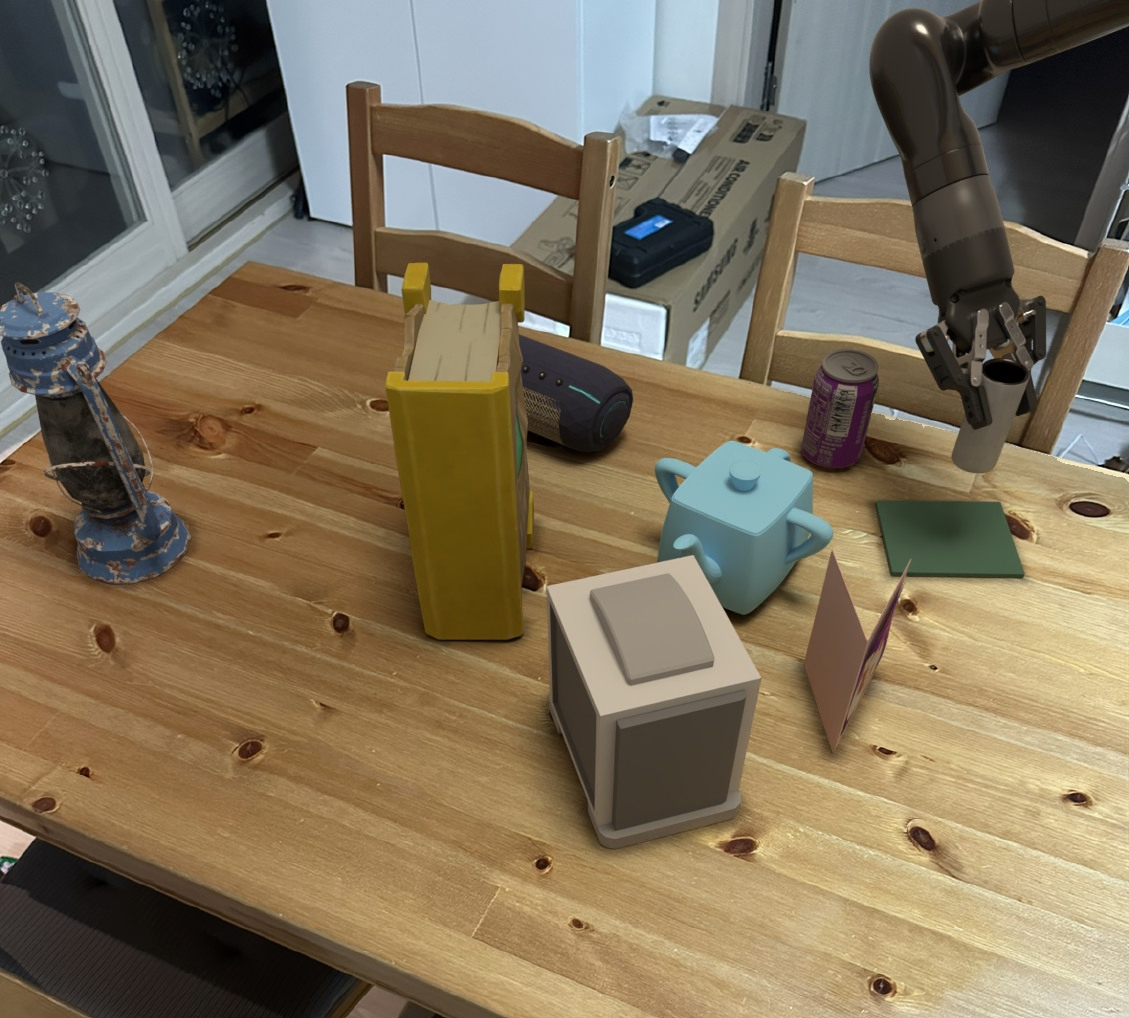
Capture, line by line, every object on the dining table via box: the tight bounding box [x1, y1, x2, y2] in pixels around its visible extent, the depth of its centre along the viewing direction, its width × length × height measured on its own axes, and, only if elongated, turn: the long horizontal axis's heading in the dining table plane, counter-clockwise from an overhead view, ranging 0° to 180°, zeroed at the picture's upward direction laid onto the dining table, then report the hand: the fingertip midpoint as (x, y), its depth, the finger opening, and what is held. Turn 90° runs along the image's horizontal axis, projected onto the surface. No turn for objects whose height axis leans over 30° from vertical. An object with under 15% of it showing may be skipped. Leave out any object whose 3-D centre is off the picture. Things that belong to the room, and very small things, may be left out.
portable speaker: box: [519, 333, 634, 453], centre depth 127 cm, size 25×10×10 cm, turn 55°
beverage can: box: [800, 348, 880, 469], centre depth 122 cm, size 7×7×12 cm
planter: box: [950, 357, 1030, 475], centre depth 105 cm, size 4×4×10 cm
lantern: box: [0, 282, 193, 585], centre depth 106 cm, size 15×12×30 cm
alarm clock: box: [546, 555, 762, 850], centre depth 92 cm, size 18×13×18 cm
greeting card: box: [803, 548, 911, 754], centre depth 97 cm, size 11×7×15 cm, turn 151°
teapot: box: [654, 440, 834, 616], centre depth 108 cm, size 18×16×14 cm
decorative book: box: [384, 262, 535, 640], centre depth 102 cm, size 20×11×30 cm, turn 177°
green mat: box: [874, 499, 1026, 579], centre depth 117 cm, size 14×12×1 cm
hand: (1004, 419), depth 103 cm, fingers closed on planter, 4 cm apart
